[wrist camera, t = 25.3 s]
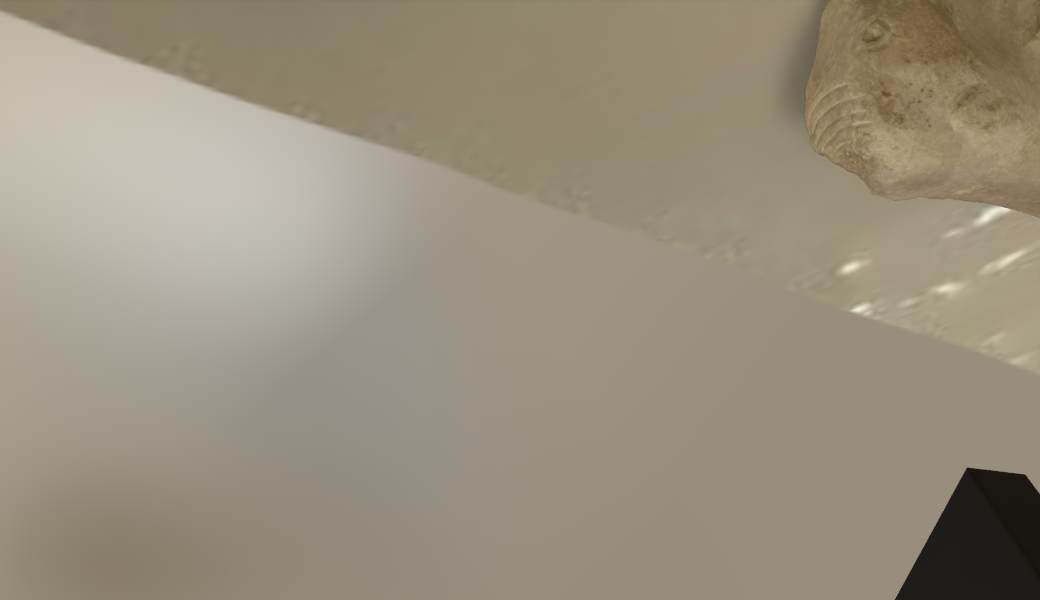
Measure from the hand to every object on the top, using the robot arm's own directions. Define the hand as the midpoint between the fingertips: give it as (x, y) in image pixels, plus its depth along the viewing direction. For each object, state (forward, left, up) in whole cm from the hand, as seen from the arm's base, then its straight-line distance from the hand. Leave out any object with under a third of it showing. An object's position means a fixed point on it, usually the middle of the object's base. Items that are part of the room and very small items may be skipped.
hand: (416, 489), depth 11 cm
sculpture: (+17, +13, -29) cm, 36 cm away
